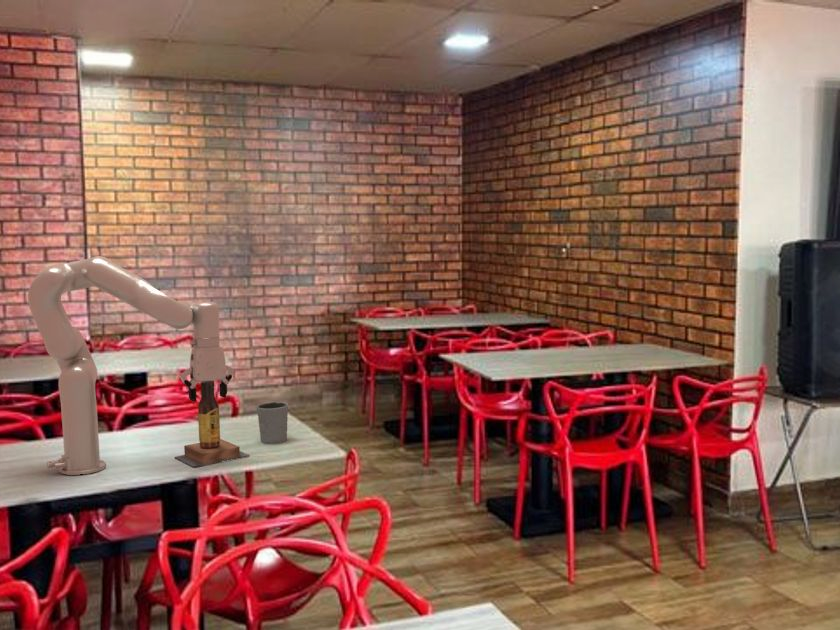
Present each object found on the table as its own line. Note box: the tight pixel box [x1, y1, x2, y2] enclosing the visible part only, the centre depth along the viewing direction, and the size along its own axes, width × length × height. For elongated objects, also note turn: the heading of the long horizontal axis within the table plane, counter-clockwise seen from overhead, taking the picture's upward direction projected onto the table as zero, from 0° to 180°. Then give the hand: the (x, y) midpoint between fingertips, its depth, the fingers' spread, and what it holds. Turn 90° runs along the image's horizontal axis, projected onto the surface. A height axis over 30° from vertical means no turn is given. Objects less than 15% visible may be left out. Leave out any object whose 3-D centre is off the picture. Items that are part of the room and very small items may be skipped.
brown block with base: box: [174, 438, 250, 469], centre depth 250 cm, size 18×14×4 cm
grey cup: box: [256, 401, 289, 445], centre depth 269 cm, size 10×10×12 cm
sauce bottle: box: [197, 381, 221, 448], centre depth 249 cm, size 6×6×20 cm
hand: (208, 398), depth 249 cm, fingers open, 9 cm apart
